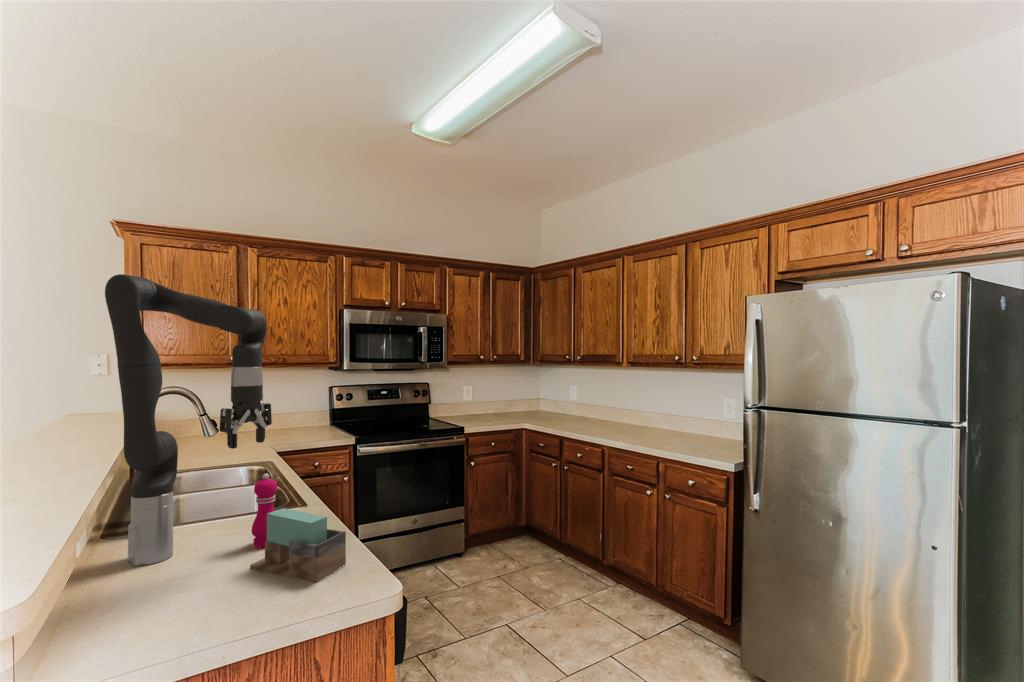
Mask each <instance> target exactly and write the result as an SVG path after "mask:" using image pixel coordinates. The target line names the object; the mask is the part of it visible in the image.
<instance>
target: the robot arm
mask: <svg viewBox="0 0 1024 682" xmlns="http://www.w3.org/2000/svg"><path fill="white" fill-rule="evenodd" d="M104 289H105V290H104V298H105V303H106V307H107V311H108V315H109V319H110V322H111V328H112V332H113V338H114V345H115V352H116V353H115V354H116V359H117V372H118V373H117V374H118V379H119V387H120V394H121V395H120V396H121V405H122V413H123V414H122V415H123V455H124V460H125V462H126V464H127V465H128V467H130V468H131V469H132V470H134V471H141V472H140V475H139V477H138V479H137V480H136V481H135V482H134V484H133V485H132V487H131V486H130V523H129V524H128V526H127V531H128V532H127V535H128V536H127V560H128V562H129V563H130V564H131V565H132V566H133V567H137V566H144V565H151V564H156V563H157V564H158V563H160V562H163V561H165V560H167V559H169V558H171V557H172V556H173V555H174V485H175V481H176V479H177V477H178V462H179V461H178V459H179V447H178V446H179V445H178V442H177V440H176V438H175V437H174V436H173V434H171V433H169V432H167V431H165V430H164V431H163V430H159V431H157V428H156V418H155V417H156V408H157V404H158V403H159V402H158V401H159V398H160V395H161V392H162V387H163V371H162V364H161V358H160V356H159V353H158V351H157V349H156V348H155V346H154V344H153V343H152V342H151V340H150V338H149V337H148V335H147V333H146V331H145V330H144V327H143V325H142V324H143V322H142V317H141V312H145V311H147V312H149V311H150V312H161V313H167V314H171V315H175V316H178V317H180V318H182V319H184V320H188V321H189V322H193V323H196V324H200V325H203V326H209V327H212V328H217V329H220V330H222V331H225V332H228V333H231V334H235V335H240V338H239V343H238V344H236V345H234V346H233V348H232V352H231V361H232V362H231V373H230V402H231V403H232V406H231V408H226V407H223V408H221V409H220V414H219V415H220V416H219V432H220V433H225V434H226V436H227V437H226V438H227V439H226V440H227V442H226V443H227V444H226V445H227V447H228V448H229V449H237V448H238V433H237V432H238V431H239V429H240V427H242V426H243V424H246V423H253V424H254V425H255V427H256V428H255V442H256V443H260V444H261V443H264V442H265V440H266V428H267V427H268V426H271V425H272V423H273V419H272V404H271V403H263V402H262V403H261V401H263V400H264V396H263V395H264V394H263V392H264V391H263V389H264V387H263V386H264V384H263V383H264V378H263V377H264V374H263V367H262V366H263V360H262V359H263V355H262V354H263V353H262V351H263V346H264V344H265V339H266V335H267V329H268V328H267V327H268V325H267V323H268V321H267V320H266V317H265V315H264V314H263V312H261V311H260V310H258V309H253V308H245V307H239V306H234V305H230V304H227V303H225V302H222V301H219V300H215V299H211V298H208V297H203V296H199V295H193V294H188V293H184V292H179V291H177V290H173V289H171V288H169V287H166V286H164V285H161V284H159V283H157V282H155V281H153V280H150V279H148V278H146V277H141V276H136V275H130V274H129V275H128V274H122V273H121V274H116V275H113V276H111V277H110V278H109V279H108V280H107V281H106V284H105V288H104Z"/></svg>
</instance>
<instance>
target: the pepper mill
mask: <svg viewBox="0 0 1024 682" xmlns="http://www.w3.org/2000/svg"><path fill="white" fill-rule="evenodd" d="M277 491H278V484H277V481H276V480H274V479H273V478H270V474H268V472H267V473H264V474H263V475H262V479H260V480H258V481H257V482H256V483H255V484H254V487H253V493H254V495H256V497H255V502H256V504H257V513H256V516H255V518H254V521H253V523H252V525H251V534H252V536H253V537H254V538H253V543H252V544H253V547H254V548H256V547H257V548H256V549H265V542H267V514H268V513H271V512H274V511H275V506H274V505H275V501H276V495H275V494H276V493H277Z"/></svg>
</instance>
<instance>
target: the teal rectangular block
mask: <svg viewBox="0 0 1024 682" xmlns="http://www.w3.org/2000/svg"><path fill="white" fill-rule="evenodd" d="M327 529H328V517H327V516H324V515H318V514H313V513H309V512H304V511H300V510H299V511H298V510H294V509H288V508H284V507H283V508H280V509H277V510H274V512H271V513H268V514H267V541H269V542H273V543H277V544H281V545H285V546H289V541H297V542H303V543H309V544H315V545H318V544H320V543H322V542H324V541H326V540H327Z"/></svg>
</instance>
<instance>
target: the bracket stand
mask: <svg viewBox="0 0 1024 682" xmlns="http://www.w3.org/2000/svg"><path fill="white" fill-rule="evenodd" d="M346 532H347V531H343V530H338V529H330V528H327V540H326V541H324V542H322V543H320V544H318V545H315V544H309V543H303V542H297V541H289V546H285V545H281V544H277V543H273V542H269V541H267V542H265V548H264V558H262V559H260V560H258V561H257V560H256V561H255V562H253V563H251V564H250V566H249V569H251V570H254V569H255V570H256V571H259V572H263V573H265V572H266V573H268V574H269V573H271V574H274V575H279V574H280V576H284V575H285V577H289V576H290V578H295V579H299V580H304V579H305V580H304V581H309V580H310V582H314V581H315V582H314V583H318V582H320V581H321V579H322V580H323V579H324V578H327V577H328V576H330V575H332V574H333V573H335V572H336V571H338V570H339V569H338V568H340V567H341V568H343V567H344V566H343V565H345V564H346V562H347V561H346V559H347V558H346V557H347V556H346V555H347V554H346V553H347V552H346V545H347V544H346V543H347V541H346V539H347V538H346V534H347V533H346ZM342 566H343V567H342ZM345 566H346V565H345ZM341 568H340V569H341ZM337 569H338V570H337ZM335 570H336V571H335ZM334 571H335V572H334ZM332 572H333V573H332ZM331 573H332V574H331ZM329 574H330V575H329ZM326 576H327V577H326ZM319 580H320V581H319Z"/></svg>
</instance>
